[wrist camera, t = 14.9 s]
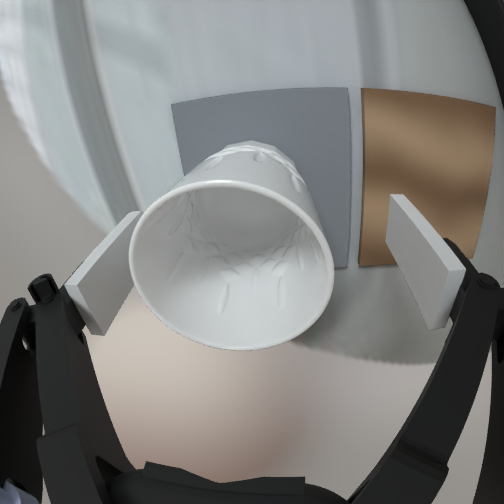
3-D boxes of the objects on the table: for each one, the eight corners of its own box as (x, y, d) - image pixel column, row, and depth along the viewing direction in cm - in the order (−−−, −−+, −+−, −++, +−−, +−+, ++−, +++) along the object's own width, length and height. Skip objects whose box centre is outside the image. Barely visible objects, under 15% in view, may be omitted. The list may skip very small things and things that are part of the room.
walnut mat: (360, 88, 15) (363, 88, 15) (491, 106, 14) (495, 107, 13) (357, 261, 22) (359, 266, 22) (469, 254, 21) (472, 258, 20)
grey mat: (174, 103, 17) (171, 104, 17) (345, 87, 16) (347, 87, 15) (207, 268, 24) (205, 273, 23) (345, 262, 22) (346, 266, 22)
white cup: (222, 110, 17) (161, 140, 8) (333, 167, 18) (378, 249, 10) (177, 212, 21) (115, 306, 12) (275, 257, 22) (269, 370, 14)
